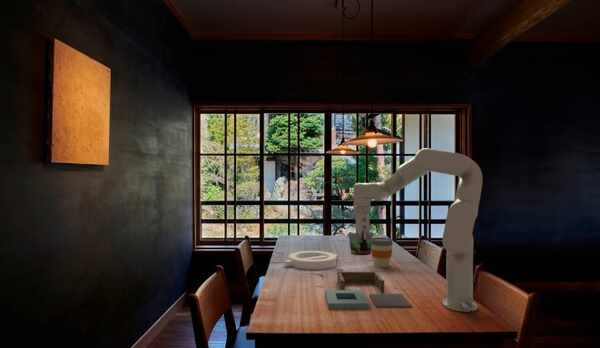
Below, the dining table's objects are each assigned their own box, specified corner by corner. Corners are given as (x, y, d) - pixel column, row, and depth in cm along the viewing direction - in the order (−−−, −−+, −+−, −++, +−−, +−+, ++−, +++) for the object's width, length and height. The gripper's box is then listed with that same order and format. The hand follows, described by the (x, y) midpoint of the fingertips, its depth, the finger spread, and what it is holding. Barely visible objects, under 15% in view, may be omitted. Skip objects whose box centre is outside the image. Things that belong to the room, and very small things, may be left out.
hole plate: (369, 308, 135) (369, 303, 135) (328, 308, 135) (328, 303, 135) (361, 294, 151) (361, 290, 151) (325, 294, 151) (325, 290, 151)
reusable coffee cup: (368, 262, 208) (368, 237, 208) (388, 262, 209) (388, 237, 209) (373, 268, 196) (373, 241, 196) (395, 267, 196) (395, 241, 197)
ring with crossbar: (339, 259, 217) (339, 252, 217) (331, 271, 190) (331, 262, 190) (296, 257, 224) (296, 249, 224) (282, 268, 197) (282, 259, 197)
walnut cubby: (384, 292, 154) (384, 281, 154) (341, 292, 154) (341, 281, 154) (376, 281, 170) (376, 271, 170) (337, 281, 170) (337, 271, 170)
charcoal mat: (412, 307, 136) (412, 305, 136) (376, 307, 136) (376, 305, 136) (401, 295, 150) (401, 293, 150) (369, 295, 150) (369, 294, 150)
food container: (353, 256, 154) (352, 234, 154) (347, 253, 160) (347, 232, 160) (378, 254, 157) (378, 232, 157) (372, 252, 163) (372, 230, 163)
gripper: (374, 211, 151) (374, 253, 151) (366, 208, 168) (367, 245, 168) (357, 211, 151) (357, 253, 151) (351, 208, 168) (351, 246, 168)
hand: (362, 249), depth 159 cm, fingers closed on food container, 5 cm apart
